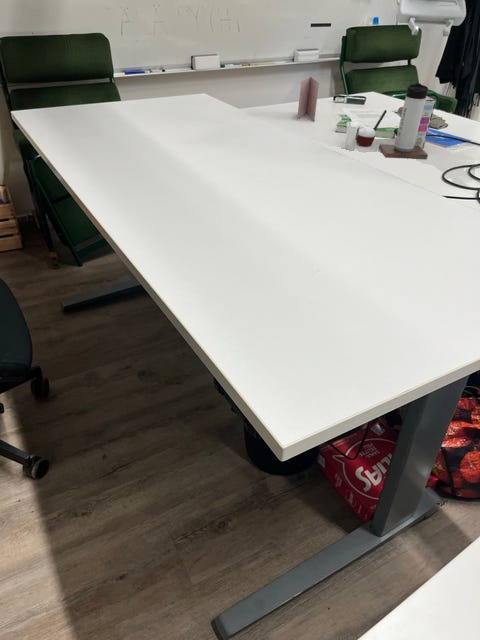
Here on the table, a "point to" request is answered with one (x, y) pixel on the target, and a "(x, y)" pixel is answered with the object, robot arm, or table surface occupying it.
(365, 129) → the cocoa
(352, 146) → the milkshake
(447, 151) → the table surface
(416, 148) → the walnut board
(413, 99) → the travel mug
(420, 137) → the candy bar box
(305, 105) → the greeting card
